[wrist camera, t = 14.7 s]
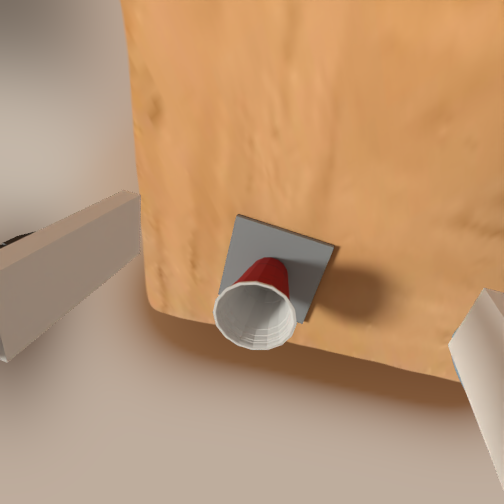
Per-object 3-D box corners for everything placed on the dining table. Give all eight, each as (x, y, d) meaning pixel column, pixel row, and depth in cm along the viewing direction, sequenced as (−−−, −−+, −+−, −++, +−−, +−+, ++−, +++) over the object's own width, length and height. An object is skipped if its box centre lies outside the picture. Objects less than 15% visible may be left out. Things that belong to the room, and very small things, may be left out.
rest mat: (334, 245, 49) (333, 247, 48) (302, 320, 56) (302, 323, 56) (237, 214, 50) (236, 215, 50) (219, 291, 58) (218, 294, 57)
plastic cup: (301, 306, 54) (291, 360, 44) (237, 295, 56) (213, 344, 46) (309, 247, 49) (300, 291, 39) (238, 237, 51) (212, 276, 41)
